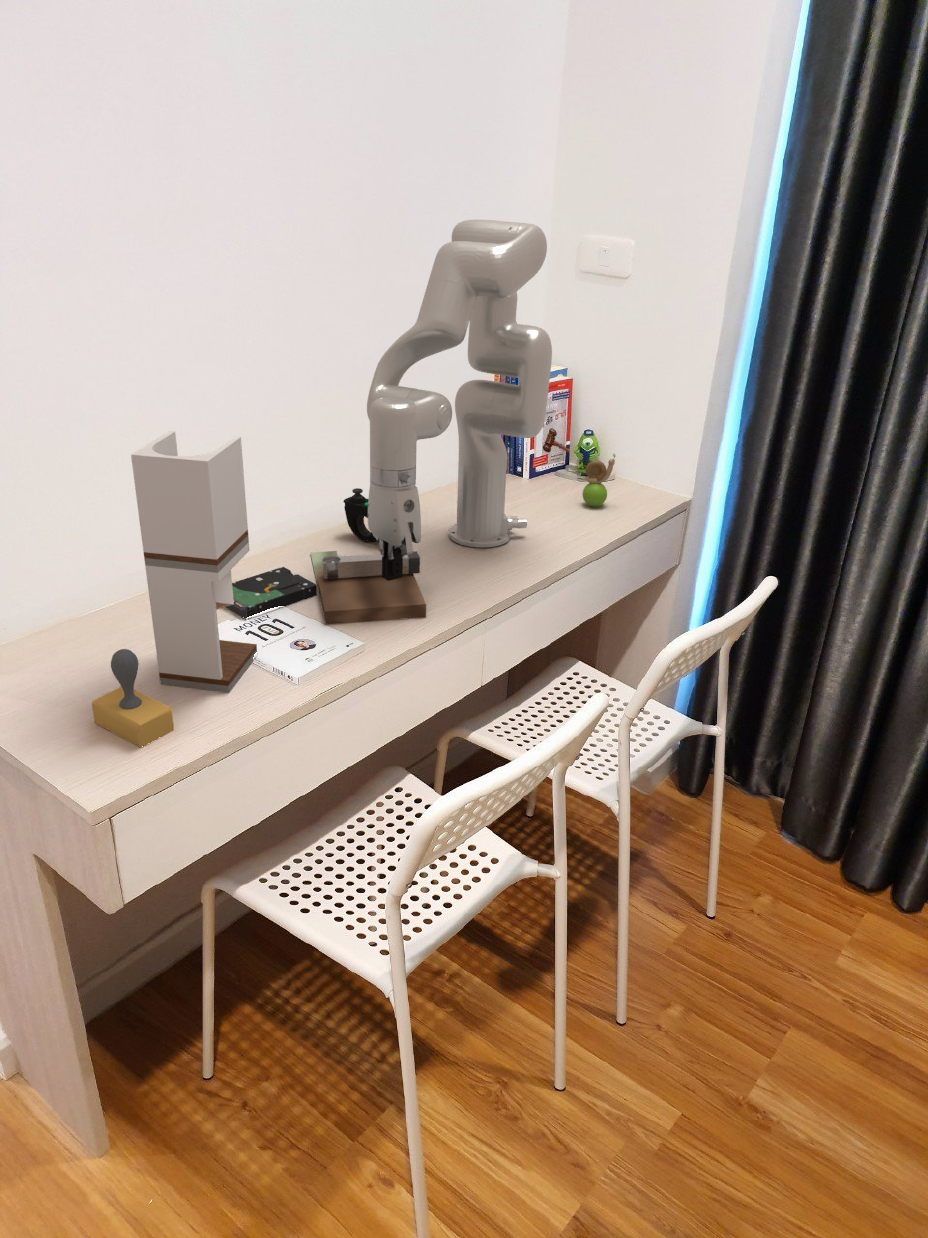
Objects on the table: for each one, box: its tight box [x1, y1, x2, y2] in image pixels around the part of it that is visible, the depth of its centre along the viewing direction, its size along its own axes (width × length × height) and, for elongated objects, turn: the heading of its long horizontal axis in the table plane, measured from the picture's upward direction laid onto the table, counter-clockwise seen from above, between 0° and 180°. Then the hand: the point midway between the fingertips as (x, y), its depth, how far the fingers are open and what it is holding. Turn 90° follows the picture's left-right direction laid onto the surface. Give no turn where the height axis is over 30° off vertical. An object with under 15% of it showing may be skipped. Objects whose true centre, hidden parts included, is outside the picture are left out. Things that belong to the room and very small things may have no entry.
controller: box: [343, 487, 378, 543], centre depth 193 cm, size 4×12×10 cm, turn 56°
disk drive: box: [225, 566, 318, 619], centre depth 170 cm, size 10×3×15 cm
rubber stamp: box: [91, 648, 175, 748], centre depth 131 cm, size 10×6×12 cm, turn 55°
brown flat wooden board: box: [310, 550, 427, 625], centre depth 176 cm, size 17×30×2 cm, turn 13°
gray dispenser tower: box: [130, 430, 258, 694], centre depth 140 cm, size 11×11×35 cm
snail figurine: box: [582, 453, 616, 507], centre depth 214 cm, size 5×6×12 cm
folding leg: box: [322, 550, 421, 579], centre depth 173 cm, size 17×3×3 cm, turn 103°
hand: (392, 577), depth 168 cm, fingers closed
